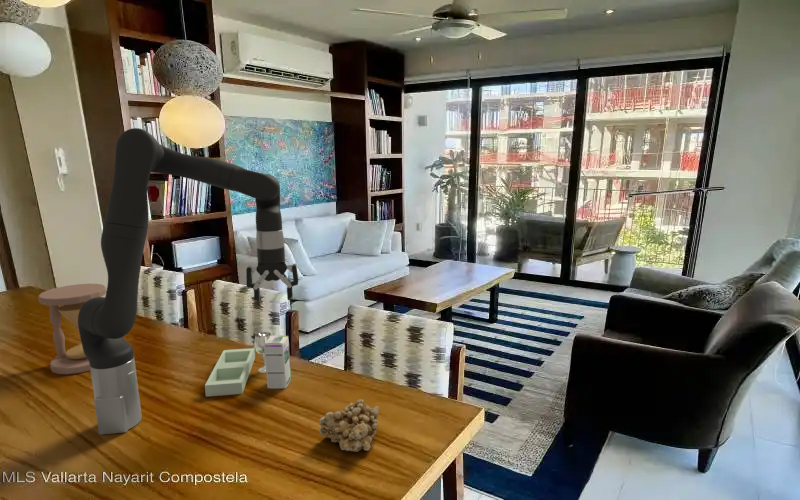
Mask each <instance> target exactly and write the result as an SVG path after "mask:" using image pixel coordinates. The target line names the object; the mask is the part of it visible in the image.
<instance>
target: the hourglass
mask: <svg viewBox="0 0 800 500" xmlns="http://www.w3.org/2000/svg"><path fill="white" fill-rule="evenodd" d="M106 291H107V287H106V286H105V285H104V284H101V283H79V284H78V283H77V284H71V285H69V284H68V285H64V286H60V287H55V288H52V289H51V288H50V289H48V290H45V291H43V292H40V294H39V295H38V296H37V297H38V298H37V299H38V302H39V304H40V305H44V306H48V308H49V321H50V322H51V325H52V326H53V333H52V334H53V335H52V339H53V343H54V345H55V350H56V356H55V357H54V358H53V359H52V360H51V361H50V363H49V368H50V370H51V371H50V372H52V373H54V374H57V375H72V374H73V375H75V374H81V373H85V372H89V371H90V372H91V370H90V364H89V360H88V358H87V357H86V355H85V354H84V351H83V347H82V343H80V344H78V345H76V346H73V347H71V348H69V349H67V350H66V346H65V343H66V342H65V341H66V340H65V339H66V338H65V337H66V336H65V333H64V332H63V330H62V327H61V324H62V316H63V317H64V318H65V319H67V320H68V321H69V322H70V323H72V324H73V325H74V326H75V329H76V330H78V331H79V328H78V314H79V311H80V309H81V307H82V306H83V304H84V303H85V302H87V301H88V300H90V299H92V298H96V297H103V296H106Z"/></svg>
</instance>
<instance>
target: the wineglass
mask: <svg viewBox="0 0 800 500" xmlns="http://www.w3.org/2000/svg"><path fill="white" fill-rule="evenodd" d="M270 336H272V334H271V332H269V331H261V332H258V333H256V334H255V337H254V344H253V345H254V346H253V348H255V353H256V352H257V353H256V354H259V355H262V358H263V362H264V365H263V366H262V367H259V369H258V372H259V373H262V374H266V362H265V350H264V343H265V342H266V341H267V340H268V339H269V338H270Z"/></svg>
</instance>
